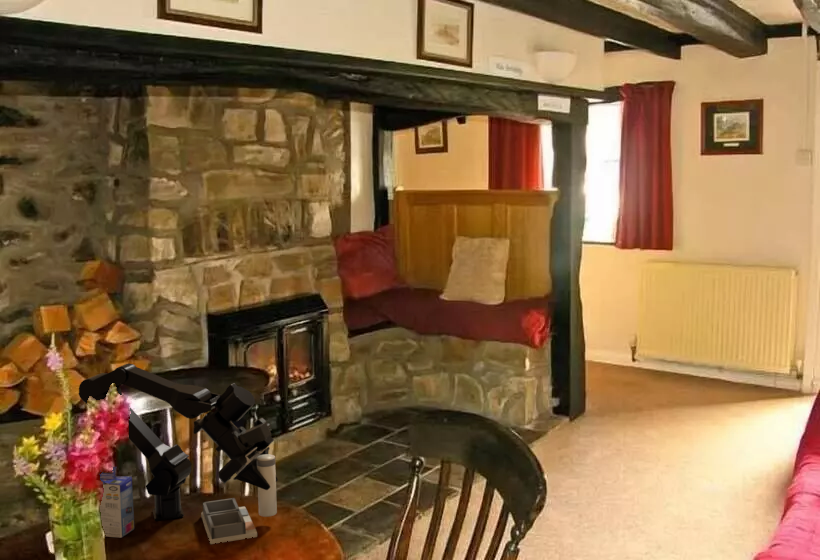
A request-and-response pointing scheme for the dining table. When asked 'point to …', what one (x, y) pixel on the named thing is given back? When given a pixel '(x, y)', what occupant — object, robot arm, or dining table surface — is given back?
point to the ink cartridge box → (117, 504)
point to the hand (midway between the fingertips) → (272, 485)
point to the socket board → (226, 521)
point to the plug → (269, 496)
